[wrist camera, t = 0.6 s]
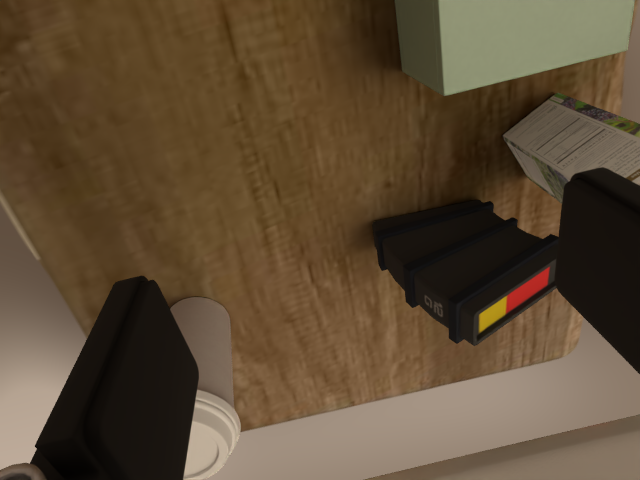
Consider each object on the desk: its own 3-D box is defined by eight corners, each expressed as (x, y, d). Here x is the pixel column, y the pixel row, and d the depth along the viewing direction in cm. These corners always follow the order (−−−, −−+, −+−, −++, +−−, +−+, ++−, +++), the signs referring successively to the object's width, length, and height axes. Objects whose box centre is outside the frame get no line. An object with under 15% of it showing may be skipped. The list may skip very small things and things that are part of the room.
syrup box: (580, 138, 40) (726, 207, 28) (525, 179, 41) (639, 262, 29) (556, 90, 37) (704, 142, 25) (497, 136, 39) (609, 206, 26)
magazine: (340, 233, 40) (470, 312, 28) (443, 183, 45) (589, 233, 34) (346, 266, 42) (469, 353, 30) (444, 214, 47) (582, 272, 35)
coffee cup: (228, 274, 43) (215, 397, 30) (256, 343, 48) (254, 474, 35) (134, 297, 43) (81, 431, 30) (171, 364, 48) (139, 503, 35)
